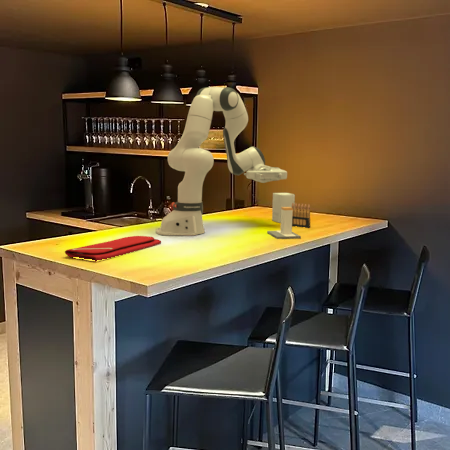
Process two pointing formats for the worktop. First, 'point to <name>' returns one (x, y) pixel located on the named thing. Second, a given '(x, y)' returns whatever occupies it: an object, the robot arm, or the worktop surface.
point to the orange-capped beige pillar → (286, 220)
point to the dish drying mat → (113, 248)
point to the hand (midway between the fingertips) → (271, 176)
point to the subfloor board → (283, 235)
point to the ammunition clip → (301, 216)
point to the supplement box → (281, 204)
